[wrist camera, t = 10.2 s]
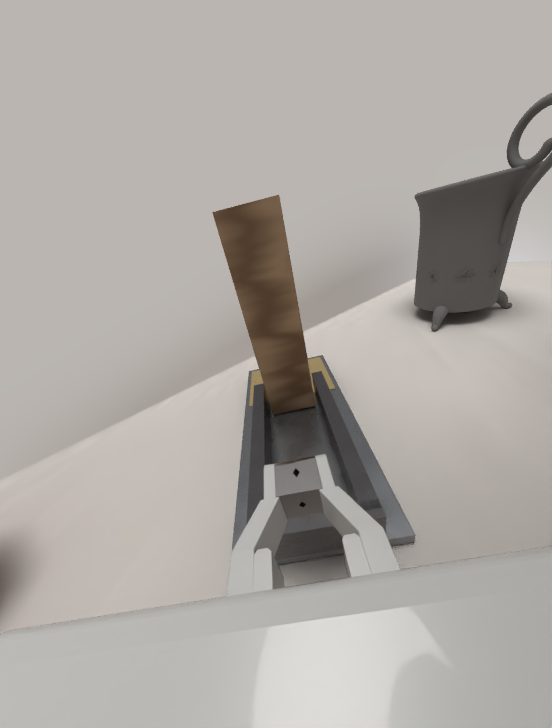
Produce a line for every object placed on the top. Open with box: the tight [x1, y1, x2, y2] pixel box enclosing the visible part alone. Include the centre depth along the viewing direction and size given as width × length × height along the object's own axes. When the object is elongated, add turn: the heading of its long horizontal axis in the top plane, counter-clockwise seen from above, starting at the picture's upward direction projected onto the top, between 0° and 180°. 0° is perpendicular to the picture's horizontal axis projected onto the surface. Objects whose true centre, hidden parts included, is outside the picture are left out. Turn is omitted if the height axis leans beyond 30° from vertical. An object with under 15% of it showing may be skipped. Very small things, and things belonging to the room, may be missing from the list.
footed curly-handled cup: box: [414, 93, 552, 331], centre depth 34 cm, size 19×15×25 cm
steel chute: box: [232, 355, 415, 565], centre depth 25 cm, size 12×25×4 cm, turn 3°
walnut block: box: [213, 195, 316, 415], centre depth 24 cm, size 5×6×20 cm
